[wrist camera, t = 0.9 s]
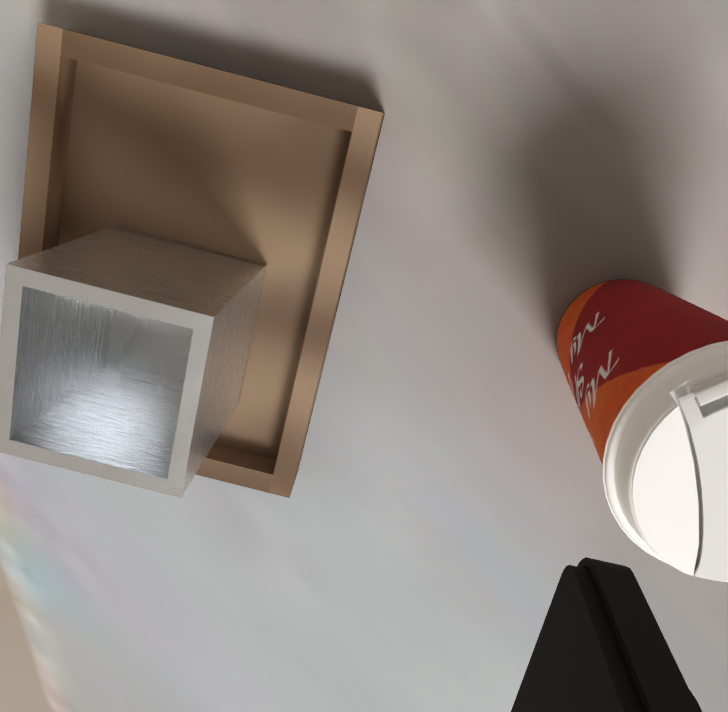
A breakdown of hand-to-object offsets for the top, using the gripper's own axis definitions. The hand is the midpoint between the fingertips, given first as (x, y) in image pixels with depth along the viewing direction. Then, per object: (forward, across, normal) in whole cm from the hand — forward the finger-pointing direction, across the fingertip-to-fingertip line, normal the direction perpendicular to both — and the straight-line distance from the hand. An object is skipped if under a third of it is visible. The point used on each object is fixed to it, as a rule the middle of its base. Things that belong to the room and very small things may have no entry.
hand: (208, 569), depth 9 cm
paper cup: (+24, -13, +2) cm, 28 cm away
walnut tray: (+24, +7, +3) cm, 25 cm away
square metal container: (+23, +7, +5) cm, 25 cm away
